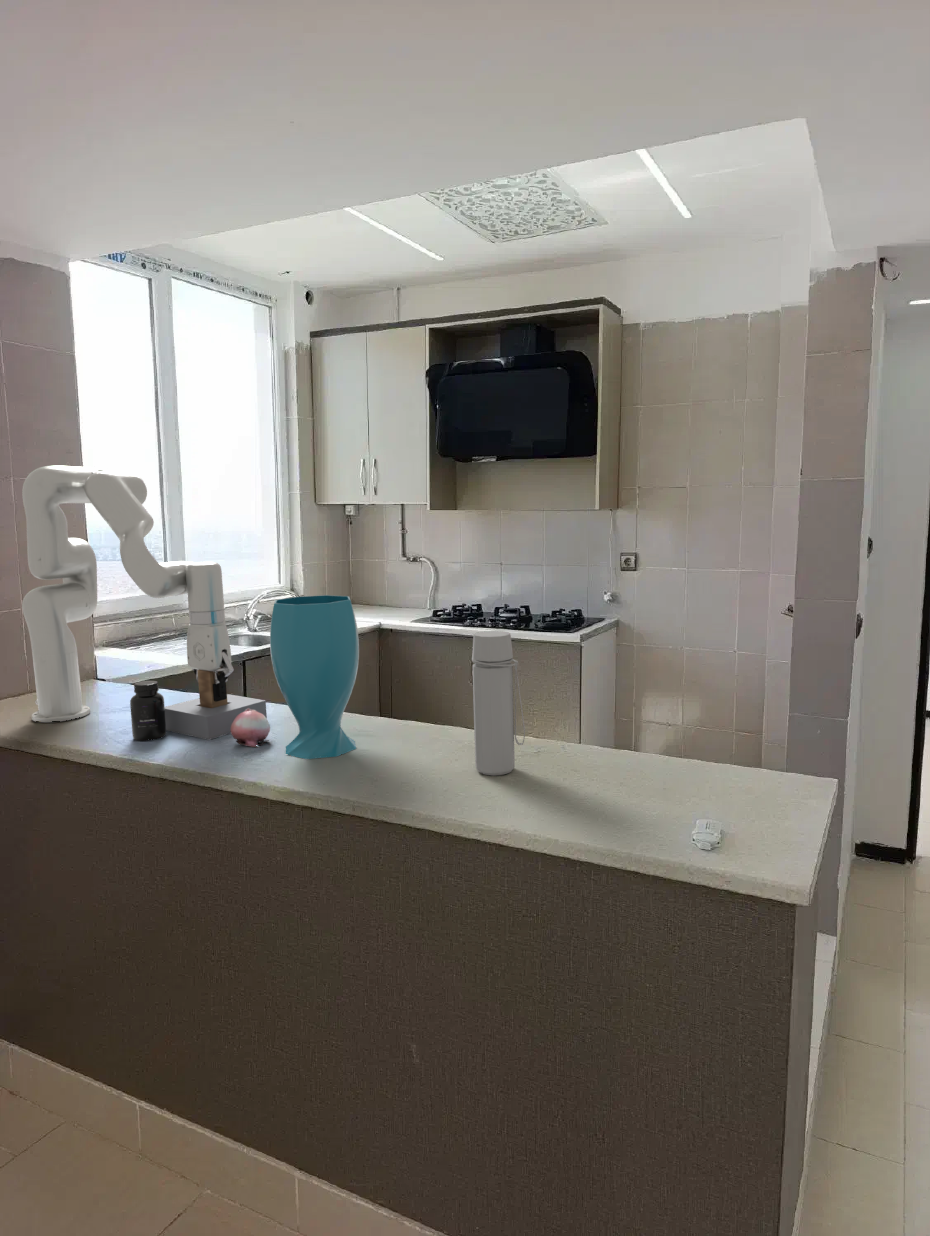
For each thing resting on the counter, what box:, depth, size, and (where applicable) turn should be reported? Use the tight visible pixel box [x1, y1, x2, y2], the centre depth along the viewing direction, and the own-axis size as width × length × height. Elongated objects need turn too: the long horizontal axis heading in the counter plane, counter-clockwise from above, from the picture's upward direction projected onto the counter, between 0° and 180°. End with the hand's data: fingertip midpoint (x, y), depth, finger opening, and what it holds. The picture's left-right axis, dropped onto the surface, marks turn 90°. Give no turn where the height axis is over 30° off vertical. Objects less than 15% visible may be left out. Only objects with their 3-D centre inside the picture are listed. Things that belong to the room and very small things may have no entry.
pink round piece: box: [230, 709, 271, 748], centre depth 166 cm, size 8×8×7 cm
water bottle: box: [471, 630, 526, 777], centre depth 143 cm, size 9×8×25 cm
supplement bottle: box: [129, 680, 167, 742], centre depth 173 cm, size 7×7×12 cm
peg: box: [197, 668, 228, 708], centre depth 180 cm, size 4×4×10 cm
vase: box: [269, 594, 360, 760], centre depth 160 cm, size 17×17×30 cm
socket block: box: [165, 693, 268, 741], centre depth 181 cm, size 16×16×5 cm
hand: (213, 698), depth 180 cm, fingers closed on peg, 4 cm apart
